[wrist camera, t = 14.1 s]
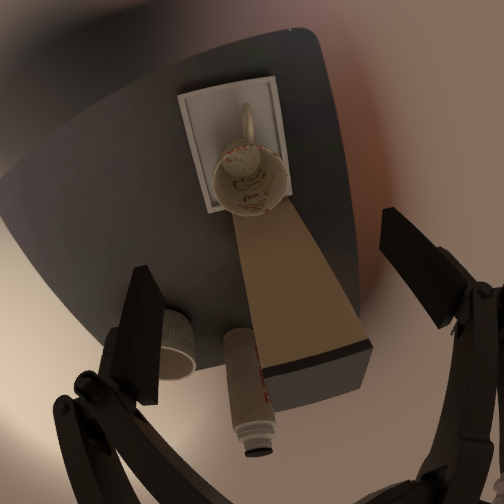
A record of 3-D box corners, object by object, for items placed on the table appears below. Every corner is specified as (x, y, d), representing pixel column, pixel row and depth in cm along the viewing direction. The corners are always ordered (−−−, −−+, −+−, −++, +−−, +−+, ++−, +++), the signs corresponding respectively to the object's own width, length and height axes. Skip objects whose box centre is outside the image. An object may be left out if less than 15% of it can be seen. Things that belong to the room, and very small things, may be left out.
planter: (149, 293, 50) (142, 338, 42) (205, 315, 56) (207, 359, 47) (130, 328, 55) (123, 369, 46) (180, 346, 61) (179, 386, 52)
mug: (213, 188, 39) (215, 220, 31) (207, 102, 32) (206, 108, 24) (270, 183, 40) (287, 213, 32) (269, 99, 33) (290, 105, 25)
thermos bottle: (254, 324, 59) (280, 446, 37) (259, 344, 64) (283, 454, 41) (219, 331, 59) (232, 454, 36) (227, 350, 64) (241, 461, 41)
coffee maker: (179, 94, 32) (101, 127, 8) (270, 76, 32) (408, 78, 9) (221, 253, 48) (242, 419, 24) (293, 236, 48) (362, 387, 24)
